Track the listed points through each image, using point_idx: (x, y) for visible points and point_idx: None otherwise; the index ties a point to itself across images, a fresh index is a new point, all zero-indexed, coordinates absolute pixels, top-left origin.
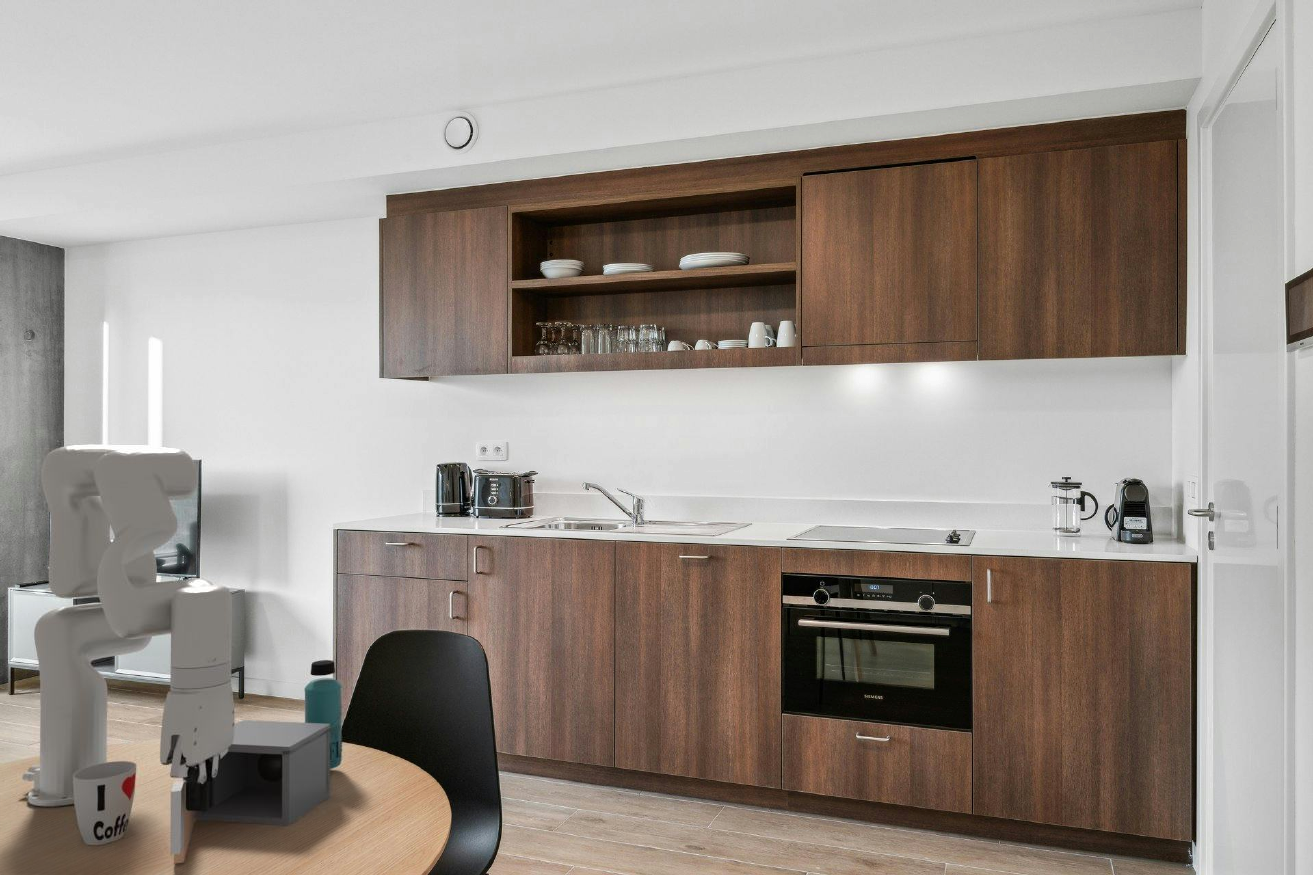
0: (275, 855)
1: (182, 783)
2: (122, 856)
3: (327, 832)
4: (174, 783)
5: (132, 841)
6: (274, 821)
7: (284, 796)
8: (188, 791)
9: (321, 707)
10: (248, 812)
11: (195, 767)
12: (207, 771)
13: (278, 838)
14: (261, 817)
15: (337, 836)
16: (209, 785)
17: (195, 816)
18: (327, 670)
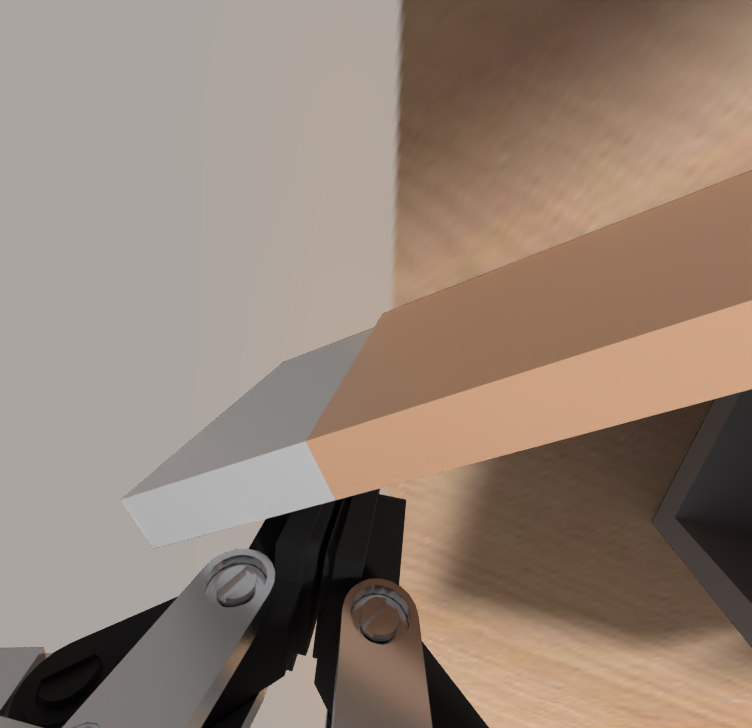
0: (442, 538)
1: (277, 510)
2: (473, 69)
3: (574, 615)
4: (277, 452)
5: (626, 7)
6: (679, 487)
7: (725, 587)
8: (261, 529)
9: None
10: None
11: (338, 663)
12: (331, 707)
13: (554, 518)
14: (706, 454)
15: (542, 637)
16: (312, 633)
17: None
18: None
